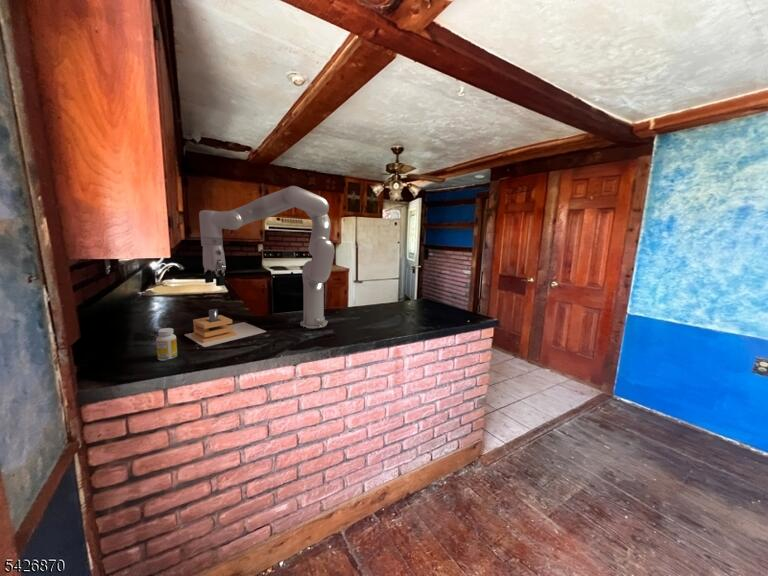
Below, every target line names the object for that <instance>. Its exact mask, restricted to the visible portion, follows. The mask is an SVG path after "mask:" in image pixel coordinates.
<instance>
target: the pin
mask: <svg viewBox="0 0 768 576" xmlns="http://www.w3.org/2000/svg"><path fill="white" fill-rule="evenodd" d="M218 310H219V309H217V308H215V309H214V308H213V309H209V310H208V317H209V322H210V323H211V322H216V321H218V315H219V314H218V313H219V311H218ZM217 329H218V326H217V327H212V328H210V331H212V330H217Z"/></svg>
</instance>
